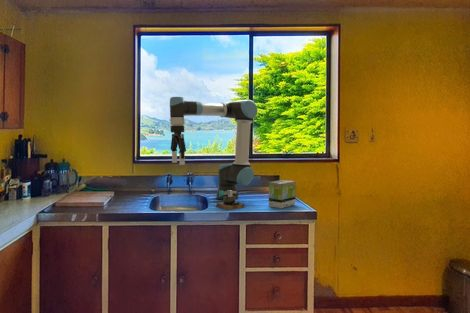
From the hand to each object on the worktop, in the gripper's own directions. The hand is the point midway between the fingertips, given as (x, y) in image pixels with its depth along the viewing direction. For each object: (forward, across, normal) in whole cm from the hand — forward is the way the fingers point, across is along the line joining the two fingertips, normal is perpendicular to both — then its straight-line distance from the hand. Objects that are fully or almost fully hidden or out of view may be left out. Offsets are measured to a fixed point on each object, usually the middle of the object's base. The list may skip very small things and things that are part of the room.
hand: (178, 163), depth 194 cm
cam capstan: (+25, +5, +27) cm, 37 cm away
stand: (+27, +3, +30) cm, 41 cm away
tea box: (+28, +14, +60) cm, 67 cm away
